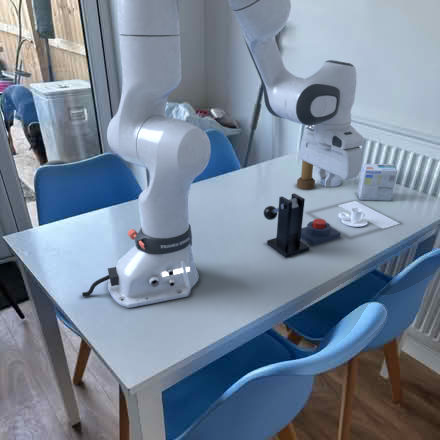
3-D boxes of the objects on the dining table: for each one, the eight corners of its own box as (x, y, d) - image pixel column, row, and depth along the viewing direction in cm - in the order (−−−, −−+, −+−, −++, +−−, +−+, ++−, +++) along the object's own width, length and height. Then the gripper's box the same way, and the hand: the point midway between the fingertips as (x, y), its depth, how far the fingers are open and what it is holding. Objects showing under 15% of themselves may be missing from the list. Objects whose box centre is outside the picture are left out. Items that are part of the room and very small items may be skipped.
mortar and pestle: (293, 184, 158) (298, 134, 148) (309, 182, 160) (314, 132, 150) (301, 190, 153) (306, 139, 143) (317, 188, 155) (324, 137, 144)
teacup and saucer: (334, 219, 134) (335, 207, 131) (353, 213, 137) (355, 202, 134) (353, 230, 127) (355, 217, 125) (373, 224, 130) (375, 212, 128)
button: (317, 230, 121) (318, 225, 120) (309, 225, 123) (310, 220, 122) (327, 227, 122) (328, 222, 121) (319, 223, 125) (320, 217, 124)
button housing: (312, 246, 120) (314, 235, 118) (295, 234, 126) (296, 224, 124) (339, 237, 124) (341, 227, 122) (321, 227, 129) (323, 216, 127)
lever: (263, 222, 123) (259, 209, 123) (274, 219, 125) (270, 206, 125) (290, 212, 110) (286, 197, 110) (302, 208, 112) (298, 194, 111)
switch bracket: (266, 244, 121) (269, 195, 113) (289, 237, 124) (293, 189, 116) (285, 258, 115) (289, 207, 106) (309, 250, 118) (315, 200, 109)
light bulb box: (387, 193, 150) (394, 163, 144) (391, 201, 144) (398, 170, 138) (356, 192, 151) (361, 162, 145) (359, 200, 145) (365, 169, 139)
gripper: (296, 125, 114) (292, 175, 122) (349, 144, 99) (341, 200, 107) (314, 122, 116) (309, 171, 124) (369, 140, 102) (359, 194, 110)
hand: (324, 184), depth 116 cm, fingers closed
